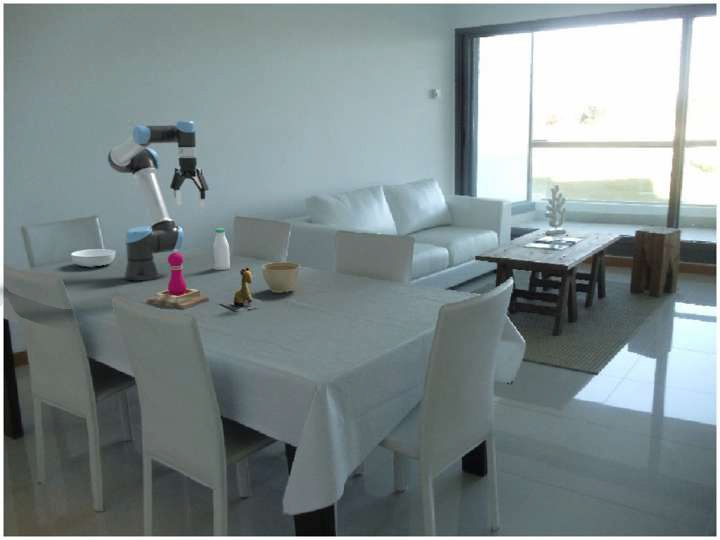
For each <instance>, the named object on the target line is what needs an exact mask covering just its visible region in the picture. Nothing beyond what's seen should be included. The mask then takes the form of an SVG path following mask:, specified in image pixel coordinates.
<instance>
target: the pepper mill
mask: <svg viewBox="0 0 720 540" xmlns="http://www.w3.org/2000/svg"><path fill="white" fill-rule="evenodd" d="M167 262H168V264H169V269H170V278H169V282H168V285H167V290H169V291H170V292H171V294H170V295H173V296H180V295H184V294H186V293H185V290H186V289H188V288H187V283H186V280H185V279H184V276H183V272H182V271H183V270H182V269H183V268H184V267H183V262H184V257H183V255H182V254H181V253H179V252H178V250H176V249H174V250H173V251H172V252H171V254H169V255H168V257H167Z"/></svg>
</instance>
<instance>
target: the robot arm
mask: <svg viewBox="0 0 720 540" xmlns="http://www.w3.org/2000/svg"><path fill="white" fill-rule="evenodd" d="M175 143H176V144H177V149H178V150H177V152H178V157H179V158H178V166H179V167H175V168H174V174H173V175H172V180H171V183H170V189H172V190H173V193H174V198H175V205H176V206H181V205H183V204H182V190H181V187H182V185H183V184H184V182H185V180H186V179H189V180H191V181H192V182H193V183H194V185H195V186H196V187H197V189H198V192H197V194H198V207H199V208H202V207H205V205H206V204H205V200H206V192H207V191H208V190H209V189H210V188H209V185H208V183H207V181H206V179H205V176H204V174H203V169H202V168H197V165H198V164H197V162H198V161H197V147H196V146H197V145H196V128H195V122H194V121H192V120H178V121H177V122H176V124H175V125H174V124H173V125H172V124H170V125H169V124H168V125H144V124H143V125H142V124H141V125H136V126H134V127H133V130H132V135H131V136H129V138H128V139H126V140H125V141H124V142H123V143H121V144H120V145H117V146H114V147H113V148H112V149H111V150H110V151H109V152H108V155H107V163H108V165H109V167H111V169H112V170H114V171H116V172H118V173H121V174H132V177H133V179H134V180H137V182H138V183H139V184H138V185H139V188H140V191H141V193H142V197H143V200H144V203H145V205H146V209H147V213H148V216H149V217H150V221H151V225H149V226H148V225H143V226H136V227H133V228H132V227H131V228H130V229H127V231H126V232H125V245H126V258H127V264H126V268H125V272H124V279H125V280H126V279H127V280H126V281H130V280H138V281H137V282H140V280H145V281H151V280H155V279H157V278H159V277H160V273H159V270H158V268H157V265H156V263H155V262H156V261H155V259H154V258H155V257H154V255H155V254H160V253H170V252H171V253H173V250H174V249H176V250H177V251H178V250H181V248H182V247H183V244H184V241H185V240H184V239H185V237H184V230H183V229H182V227H181V226H180V225H177V224H176V223H175V220H174V219H171V217H170V215H169V213H168V207H167V205H166V203H165V199H164V196H163V194H162V191H161V187H160V185H159V182H158V179H157V174H158V171H159V169H160V159H159V155H158V154H157V152H156V150H154V149H153V148H149V146H150V145H152V144H175ZM150 279H151V280H150Z"/></svg>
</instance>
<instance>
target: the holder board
mask: <svg viewBox="0 0 720 540" xmlns="http://www.w3.org/2000/svg"><path fill="white" fill-rule="evenodd" d="M185 293H186V294H184V295H180V296H173V295H170V294H171V292H170V291H169V290H168V289H166V290H163V291H159V292H156V293H154V296H152V297H149V298H147V299H146V302H147V303H148V304H152V305H153V304H154V305H159V306H166V307H171V308H178V309H183V310H185V309H189V308H191V306H192V307H194V305H195V306H198V305H200V303H201V304H203V303H202V302H204V303H207V302H209V301H210V297H209V296H205V295H204V296H203V295H201V290H199V289H193V288H187V289H186V290H185ZM206 301H207V302H206ZM197 304H198V305H197Z"/></svg>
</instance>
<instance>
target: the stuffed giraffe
mask: <svg viewBox="0 0 720 540" xmlns="http://www.w3.org/2000/svg"><path fill="white" fill-rule="evenodd" d="M251 271H252V269H250V268H249V267H248V266H247V267H246V268H245V267H243V268H241V270H239V272H240V273H239V274H240V276H241V288H240V289H238V290H237V291H236V292H235V293H234V297H233V299H231V301H230V302H233V303H234V304H233V305H232V304H227V303H225V304H226V305H223V304H224V303H222V305H221V306H225V307H227V308H228V309H231V310H233V311H234V310H238V309H240V308H242V307H243V309H246V308H248V309H250V308H251V307H250V306H249V305H250V304H251V303H252V299H253V298H254V297H253V298H252V295H251V294H250V290H249V287H248V284H249V285H250V284H252V281H253V276H252V273H251ZM232 300H234V301H232ZM250 302H251V303H250ZM245 306H248V307H245ZM251 306H254V305H252V304H251ZM248 309H246V310H248ZM248 311H249V310H248Z"/></svg>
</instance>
